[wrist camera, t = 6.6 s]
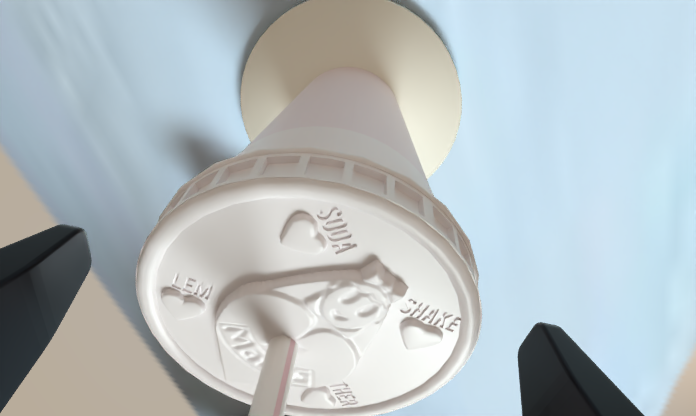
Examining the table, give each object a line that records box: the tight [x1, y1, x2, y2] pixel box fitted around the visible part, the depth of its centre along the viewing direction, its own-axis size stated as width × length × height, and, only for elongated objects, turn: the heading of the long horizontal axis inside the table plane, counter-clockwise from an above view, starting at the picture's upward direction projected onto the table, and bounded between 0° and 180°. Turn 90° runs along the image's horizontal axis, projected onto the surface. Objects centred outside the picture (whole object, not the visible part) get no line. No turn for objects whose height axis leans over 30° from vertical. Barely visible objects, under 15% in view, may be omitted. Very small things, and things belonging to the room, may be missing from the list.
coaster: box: [241, 0, 462, 179], centre depth 16 cm, size 8×8×1 cm
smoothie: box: [136, 67, 482, 416], centre depth 10 cm, size 6×6×14 cm
